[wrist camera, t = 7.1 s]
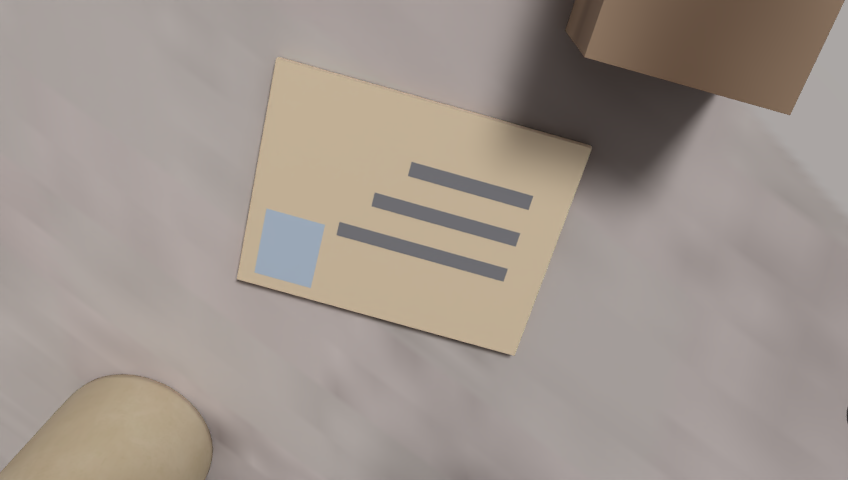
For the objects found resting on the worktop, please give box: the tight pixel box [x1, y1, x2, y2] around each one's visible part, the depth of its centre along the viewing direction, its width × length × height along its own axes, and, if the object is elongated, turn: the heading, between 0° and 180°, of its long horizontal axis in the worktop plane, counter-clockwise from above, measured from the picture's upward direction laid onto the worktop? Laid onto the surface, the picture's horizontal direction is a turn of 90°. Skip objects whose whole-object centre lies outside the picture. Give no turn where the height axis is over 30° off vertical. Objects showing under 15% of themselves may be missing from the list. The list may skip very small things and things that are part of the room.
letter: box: [237, 57, 592, 356], centre depth 21 cm, size 9×7×1 cm
